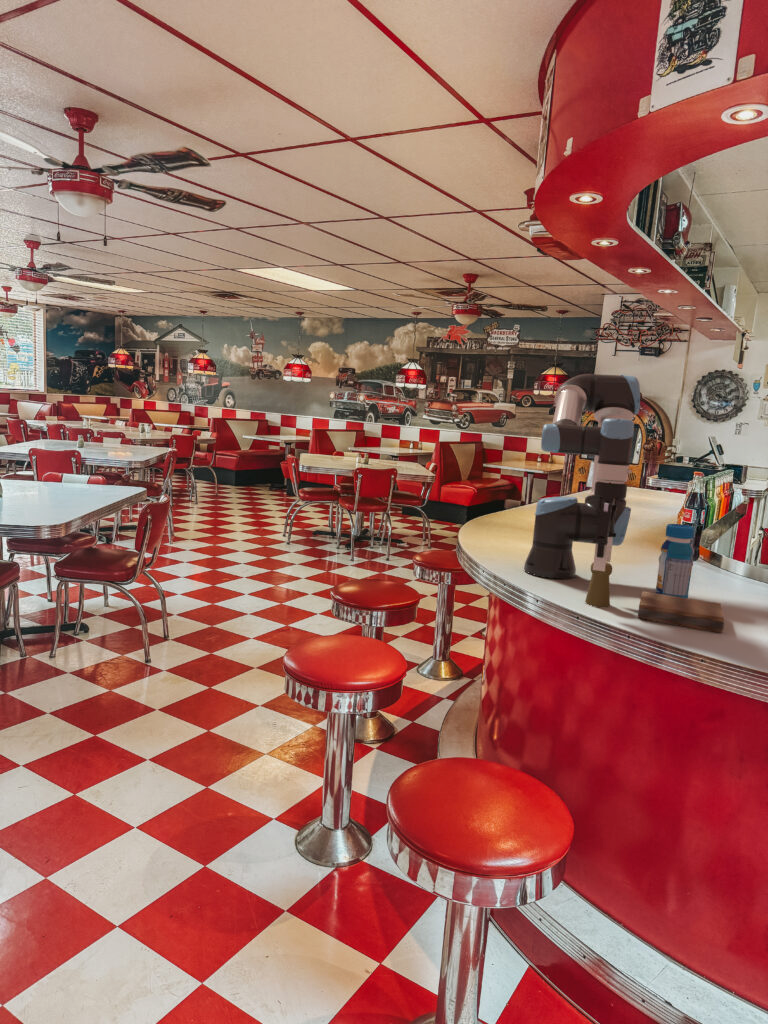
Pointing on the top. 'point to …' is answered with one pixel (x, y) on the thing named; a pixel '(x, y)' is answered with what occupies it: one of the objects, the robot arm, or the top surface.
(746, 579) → the top surface
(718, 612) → the wooden block
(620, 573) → the top surface
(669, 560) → the beverage bottle
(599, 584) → the cork
